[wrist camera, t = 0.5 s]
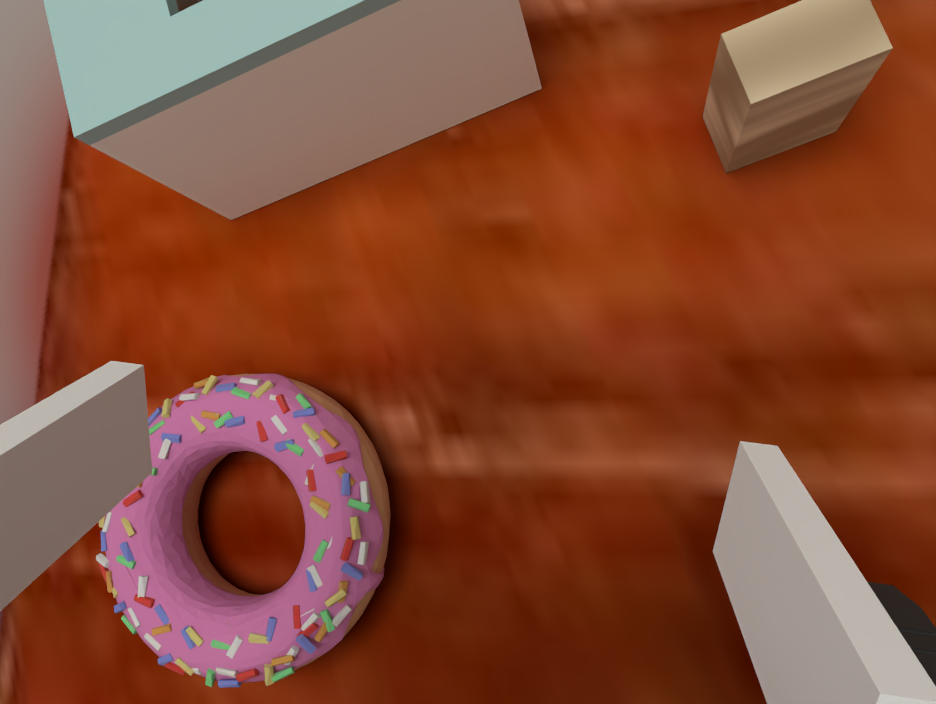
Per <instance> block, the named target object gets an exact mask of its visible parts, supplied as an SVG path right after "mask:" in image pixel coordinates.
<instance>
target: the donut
mask: <svg viewBox="0 0 936 704" xmlns="http://www.w3.org/2000/svg"><path fill="white" fill-rule="evenodd" d="M148 425H149V437H150V449H151V461H152V473H151V474H150V475H149V476H148V477H147V478H146V479H145V480H144V481H142V482H141V483H140V484H139V485H138V486H137V487H136V488H135V489H134V490H133V491H132V492H130V493H129V494H128V495H127V496H126V497H125V498H124V499H123V500H122V501H121V502H119V503H118V504H117V505H116V506H115V507H114V508H113V509H112V510H111V511H110V512H108V513H107V514H106V515H105V516H104V517H103V518H102V519H101V520H100V521H99V526H100V527H103V530H102V531H101V551H106V557H107V558H106V557H105V556H104V555H103V554H102V553H100V554H98V555H97V556H96V560H97V561H98V562H99V564H98V565H99V567H100V569H101V572H102V574H103V577H104V579H105V582H107V590H108V592H109V593H110V592H113V596H114V598H116V600H117V602H118V604H117V605H115V606H114V611H115V613H119V612H121V611H123V612H124V614H125V615H123V616H122V618H121V620H122V621H123V622H124V623H125V625H126V626H127V627H128V628H129V630H130V631H131V632H132V633H133V634H136V633H138V634H139V635H140V637H141V638H142V640H143V641H144V642H145V643H146V644H147V645H148V646H149V647H150V648H151V649H152V650H153V651H154V652H155V653H156V654H157V655H158V656H159V657H160V658H158V664H160V665H162V666H163V665H164V667H166V668H168V669H170V670H172V671H175V672H177V673H179V674H181V675H184V673H185V672H187V673H188V674H189V675H190V676H191V675H192V674H193V673H195V674H198V675H200V676H203V677H205V678H206V684H205V685H208V686H210V687H212V686H213V684H214V681H215V680H216V681H218V686H219V687H220V688H222V687H240V686H241V683H242V682H256V681H263V680H265V683H266V686H268V685H271V684H273V683H274V682H276V681H278V680H280V679H282V678H284V677H286V676H289V675H291V674H293V673H295V670H296V669H298V668H300V667H303V666H305V665H307V664H309V663H311V662H313V661H314V660H316V659H317V658H319V657H320V656H322V655H323V654H325V653H326V652H328V651H329V650H330V649H332V648H333V647H334V646H335V645H336V644H337V643H338V642H340V641H341V640H342V639H343V637H344V636H345V635H346V634H347V633H348V632H349V631H350V629H351V628H352V627H353V626H354V624H355V623H356V622H357V621H358V619H359V618H360V617H361V615H362V614H363V612H364V610H365V608H366V607H367V605H368V603H369V601H370V599H371V598H372V596H373V594H374V592H375V589H376V588H377V587H378V585H379V584H380V582H381V581H382V579H383V576H384V569H385V568H384V567H383V566H384V563H385V560H386V556H387V548H388V540H389V529H390V514H391V513H390V504H389V494H388V487H387V482H386V479H385V476H384V473H383V470H382V466H381V463H380V460H379V457H378V454H377V452H376V450H375V448H374V446H373V444H372V442H371V441H370V439H369V438H368V436H367V435H366V433H365V432H364V430H363V429H362V427H361V426H360V424H359V423H358V422H357V421H356V420H355V419H354V418H353V416H352V415H351V414H350V413H349V412H348V411H347V410H346V409H345V408H344V407H342V406H341V405H340V404H339V403H338V402H337V401H335V400H334V399H332V398H331V397H329V396H327V395H326V394H324V393H323V392H321V391H319V390H317V389H316V388H314V387H311V386H309V385H307V384H305V383H302V382H299V381H296V380H293V379H290V378H286V377H285V376H282V375H278V374H239V375H230V376H228V375H223V376H218V377H215V376H212V375H211V376H210V377H209V378H206V379H204V380H201V381H199V382H196V383H194V386H193V387H191V388H189V389H187V390H185V391H183V392H182V393H180V394H179V395H177V396H175V397H174V398H172V399H169V398H167V399H166V400H165V401H164V404H163V406H162V407H161V408H159V407H158V408H157V409H156V410H155V412H154V413H153V414H152V415H151V416H150V417H149V418H148ZM238 451H250V452H255V453H258V454H260V455H262V456H264V457H266V458H268V459H270V460H271V461H273V462H274V463H275V464H277V466H278V467H279V468H280V469H281V470H282V471H283V472H284V473H285V474H286V475H287V476H288V478H289V479H290V481H291V482H292V484H293V486H294V487H295V489H296V492H297V494H298V496H299V499H300V501H301V504H302V506H303V512H304V519H305V544H304V550H303V553H302V556H301V560H300V563H299V565H298V567H297V569H296V571H295V573H294V574H293V575H292V577H291V578H290V579H289V581H288V582H287V583H285V584H284V585H283V586H282V587H281V588H279V589H277V590H275V591H273V592H271V593H268V594H264V595H257V594H251V593H247V592H245V591H242V590H240V589H238V588H236V587H234V586H233V585H232V584H230V583H229V582H227V581H226V580H225V579H224V578H223V577H222V576H221V575H220V574H219V573H218V571H217V570H216V569H215V568H214V566H213V565H212V564H211V562H210V560H209V558H208V556H207V554H206V552H205V550H204V548H203V545H202V541H201V537H200V531H199V526H198V509H199V501H200V496H201V493H202V490H203V486H204V484H205V482H206V479H207V478H208V476H209V474H210V473H211V471H212V470H213V468H214V467H215V466H216V465H217V464H218V462H220V461H221V460H222V459H223V458H224V457H226V456H227V455H228V454H229V453H231V452H238Z"/></svg>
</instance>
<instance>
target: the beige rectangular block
mask: <svg viewBox="0 0 936 704" xmlns="http://www.w3.org/2000/svg"><path fill="white" fill-rule="evenodd" d="M892 48H893V47H892V45H891V43H890V41H889V39H888V37H887V35H886V33H885V31H884V29H883V27H882V24H881V22H880V20H879V18H878V16H877V14H876V12H875V10H874V8H873V6H872V4H871V1H870V0H802V1H799V2H797V3H794V4H792V5H790V6H787V7H785V8H782V9H780V10H778V11H775V12H773V13H771V14H768V15H766V16H763V17H761V18H759V19H756V20H754V21H751V22H749V23H747V24H744V25H742V26H739V27H737V28H735V29H732V30H730V31H727V32H725V33H723V34H721V37H720V41H719V46H718V50H717V55H716V59H715V64H714V68H713V73H712V77H711V82H710V86H709V91H708V95H707V100H706V104H705V108H704V113H703V119H704V121H705V124H706V126H707V128H708V131H709V133H710V136H711V138H712V141H713V143H714V145H715V148H716V150H717V153H718V155H719V158H720V160H721V162H722V165H723V167H724V170H725V172H726V173H728V172H731V171H733V170H736V169H739V168H741V167H744V166H747V165H749V164H752V163H754V162H757V161H760V160H762V159H765V158H768V157H770V156H773V155H775V154H778V153H781V152H783V151H786V150H789V149H791V148H794V147H796V146H799V145H802V144H804V143H807V142H810V141H812V140H815V139H818V138H820V137H823V136H825V135H828V134H831V133H833V132H836V131H837V129H838V128H839V126H840V125H841V124H842V122H843V121H844V119H845V118H846V116H847V115H848V113H849V112H850V110H851V109H852V107H853V106H854V104H855V103H856V101H857V100H858V98H859V97H860V96H861V94H862V93H863V91H864V90H865V88H866V87H867V85H868V84H869V82H870V81H871V79H872V78H873V76H874V75H875V73H876V72H877V70H878V69H879V68H880V66H881V65H882V63H883V62H884V60H885V59H886V57H887V56H888V54H889V53H890V51H891V50H892Z"/></svg>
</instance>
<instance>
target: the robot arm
mask: <svg viewBox="0 0 936 704" xmlns="http://www.w3.org/2000/svg"><path fill="white" fill-rule="evenodd" d="M151 473H152V461H151V449H150V437H149V425H148V412H147V400H146V388H145V376H144V365H139V364H131V363H123V362H116V361H110V362H109V363H107V364H105V365H103V366H102V367H100V368H98V369H96V370H95V371H93V372H91V373H90V374H88V375H86V376H84V377H83V378H81V379H79V380H77V381H76V382H74V383H72V384H70V385H69V386H67V387H65V388H63V389H62V390H60V391H58V392H56V393H55V394H53V395H51V396H50V397H48V398H46V399H44V400H43V401H41V402H39V403H37V404H36V405H34V406H32V407H31V408H29V409H27V410H25V411H23V412H22V413H20V414H18V415H17V416H15V417H13V418H11V419H10V420H8V421H6V422H4V423H3V424H1V425H0V611H1V610H2V609H3V608H4V607H5V606H7V605H8V604H9V603H10V602H11V601H12V600H13V599H14V598H15V597H16V596H17V595H19V594H20V593H21V592H22V591H23V590H24V589H25V588H26V587H27V586H28V585H30V584H31V583H32V582H33V581H34V580H35V579H36V578H37V577H38V576H39V575H41V574H42V573H43V572H44V571H45V570H46V569H47V568H48V567H49V566H50V565H51V564H53V563H54V562H55V561H56V560H57V559H58V558H59V557H60V556H61V555H62V554H64V553H65V552H66V551H67V550H68V549H69V548H70V547H71V546H72V545H73V544H74V543H76V542H77V541H78V540H79V539H80V538H81V537H82V536H83V535H84V534H85V533H87V532H88V531H89V530H90V529H91V528H92V527H93V526H94V525H95V524H96V523H98V522H99V521H100V520H101V519H102V518H103V517H104V516H105V515H106V514H107V513H108V512H110V511H111V510H112V509H113V508H114V507H115V506H116V505H117V504H118V503H119V502H121V501H122V500H123V499H124V498H125V497H126V496H127V495H128V494H129V493H130V492H132V491H133V490H134V489H135V488H136V487H137V486H138V485H139V484H140V483H141V482H142V481H144V480H145V479H146V478H147V477H148V476H149V475H150V474H151ZM713 553H714V556H715V559H716V562H717V564H718V567H719V570H720V573H721V576H722V578H723V581H724V584H725V587H726V590H727V593H728V595H729V598H730V601H731V604H732V607H733V609H734V612H735V615H736V618H737V621H738V623H739V626H740V629H741V632H742V635H743V637H744V640H745V643H746V646H747V649H748V651H749V654H750V657H751V660H752V663H753V665H754V668H755V671H756V674H757V677H758V679H759V682H760V685H761V688H762V691H763V694H764V696H765V699H766V702H767V704H936V628H935V626H934V625H933V624H932V622H931V621H930V619H929V618H928V617H927V615H926V614H925V613H924V611H923V610H922V609H921V608H920V607H919V606H918V605H917V604H915V603H914V602H913V601H912V600H910V599H909V598H908V597H907V596H905V595H904V594H903V593H902V592H900V591H899V590H898V589H897V588H896V587H894V586H893V585H886V584H879V583H872V582H867V581H866V580H865V578H864V577H863V575H862V574H861V572H860V571H859V569H858V568H857V566H856V564H855V563H854V561H853V560H852V558H851V557H850V555H849V554H848V552H847V551H846V549H845V548H844V546H843V545H842V543H841V542H840V540H839V539H838V537H837V536H836V534H835V533H834V531H833V529H832V528H831V526H830V525H829V523H828V522H827V520H826V519H825V517H824V516H823V514H822V513H821V511H820V510H819V508H818V507H817V505H816V504H815V502H814V501H813V499H812V498H811V496H810V495H809V493H808V491H807V490H806V488H805V487H804V485H803V484H802V482H801V481H800V479H799V478H798V476H797V475H796V473H795V472H794V470H793V469H792V467H791V466H790V464H789V463H788V461H787V460H786V458H785V456H784V455H783V453H782V452H781V450H780V449H779V447H778V446H774V445H766V444H758V443H750V442H743V441H740V443H739V448H738V452H737V456H736V460H735V464H734V468H733V472H732V476H731V480H730V484H729V488H728V492H727V496H726V500H725V504H724V508H723V512H722V516H721V520H720V524H719V528H718V532H717V536H716V540H715V544H714V548H713Z"/></svg>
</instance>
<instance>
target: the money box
mask: <svg viewBox="0 0 936 704" xmlns="http://www.w3.org/2000/svg"><path fill="white" fill-rule="evenodd" d="M44 5H45V9H46V14H47V18H48V22H49V27H50V32H51V36H52V41H53V45H54V50H55V53H56V58H57V63H58V67H59V72H60V76H61V81H62V85H63V90H64V94H65V99H66V103H67V108H68V112H69V117H70V121H71V126H72V130H73V134H74V137H75V138H77V139H78V140H80V141H82V142H84V143H86V144H88V145H90V146H92V147H94V148H95V149H97V150H99V151H101V152H103V153H105V154H107V155H109V156H111V157H113V158H114V159H116V160H118V161H120V162H122V163H124V164H126V165H128V166H130V167H131V168H133V169H135V170H137V171H139V172H141V173H143V174H145V175H147V176H148V177H150V178H152V179H154V180H156V181H158V182H160V183H162V184H164V185H165V186H167V187H169V188H171V189H173V190H175V191H177V192H179V193H181V194H183V195H184V196H186V197H188V198H190V199H192V200H194V201H196V202H198V203H200V204H201V205H203V206H205V207H207V208H209V209H211V210H213V211H215V212H217V213H218V214H220V215H222V216H224V217H226V218H228V219H230V220H233V219H235V218H237V217H240V216H242V215H244V214H247V213H249V212H252V211H254V210H256V209H259V208H261V207H263V206H266V205H268V204H270V203H273V202H275V201H278V200H280V199H282V198H285V197H287V196H289V195H292V194H294V193H296V192H299V191H301V190H304V189H306V188H308V187H311V186H313V185H315V184H318V183H320V182H322V181H325V180H327V179H330V178H332V177H334V176H337V175H339V174H341V173H344V172H346V171H348V170H351V169H353V168H355V167H358V166H360V165H363V164H365V163H367V162H370V161H372V160H374V159H377V158H379V157H381V156H384V155H386V154H389V153H391V152H393V151H396V150H398V149H400V148H403V147H405V146H407V145H410V144H412V143H415V142H417V141H419V140H422V139H424V138H426V137H429V136H431V135H433V134H436V133H438V132H441V131H443V130H445V129H448V128H450V127H452V126H455V125H457V124H459V123H462V122H464V121H466V120H469V119H471V118H474V117H476V116H478V115H481V114H483V113H485V112H488V111H490V110H492V109H495V108H497V107H500V106H502V105H504V104H507V103H509V102H511V101H514V100H516V99H518V98H521V97H523V96H526V95H528V94H530V93H533V92H535V91H537V90H540V89H542V87H541V83H540V79H539V76H538V72H537V68H536V64H535V60H534V56H533V53H532V49H531V45H530V41H529V37H528V34H527V30H526V26H525V22H524V18H523V14H522V11H521V7H520V3H519V0H44Z"/></svg>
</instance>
